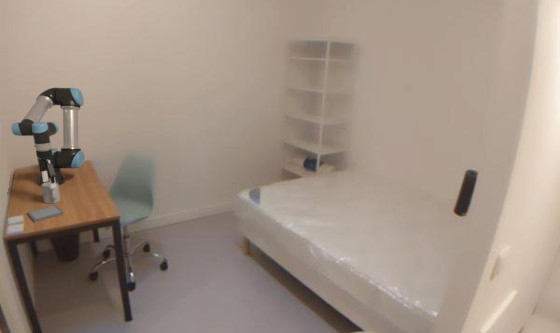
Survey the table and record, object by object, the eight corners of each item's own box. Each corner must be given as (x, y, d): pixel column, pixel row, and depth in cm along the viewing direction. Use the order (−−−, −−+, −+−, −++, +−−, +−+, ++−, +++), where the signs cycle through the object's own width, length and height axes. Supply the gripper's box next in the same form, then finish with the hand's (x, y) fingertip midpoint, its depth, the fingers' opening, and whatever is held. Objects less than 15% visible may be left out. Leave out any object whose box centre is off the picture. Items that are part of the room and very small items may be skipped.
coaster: (27, 214, 192) (27, 212, 191) (55, 206, 202) (55, 204, 202) (34, 222, 184) (34, 220, 183) (63, 214, 194) (63, 212, 194)
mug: (42, 200, 209) (39, 183, 206) (58, 197, 215) (55, 180, 212) (47, 207, 201) (44, 189, 198) (64, 203, 207) (61, 186, 204)
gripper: (29, 146, 203) (35, 180, 209) (43, 155, 187) (49, 191, 194) (44, 144, 208) (49, 177, 215) (58, 153, 193) (64, 188, 199)
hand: (49, 184), depth 204 cm, fingers open, 13 cm apart
